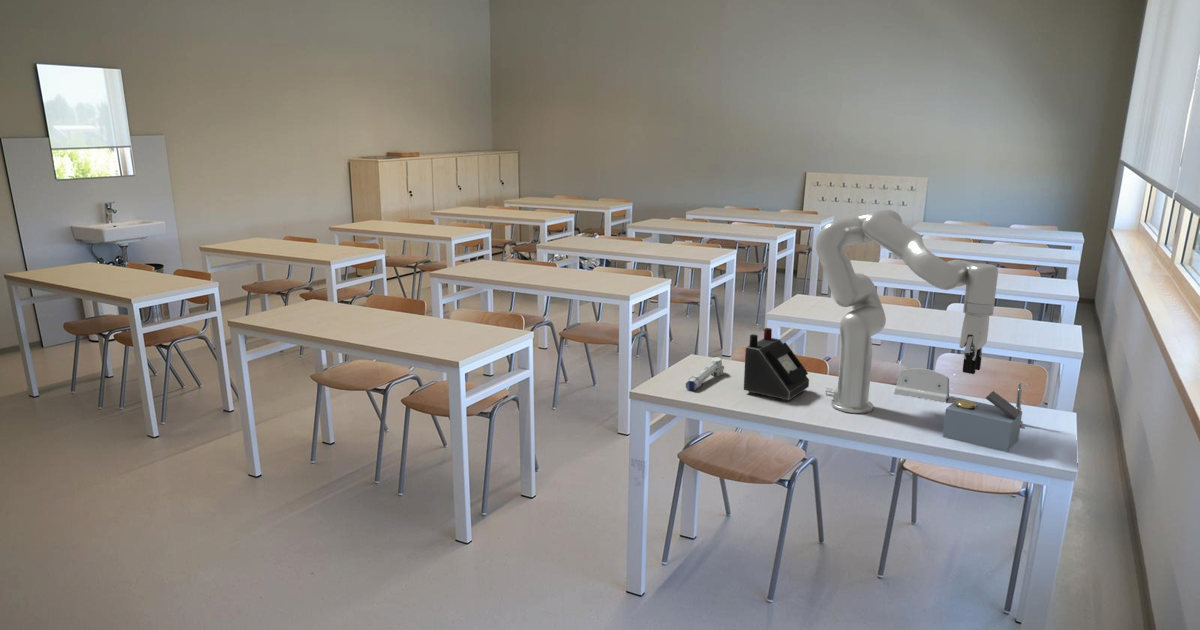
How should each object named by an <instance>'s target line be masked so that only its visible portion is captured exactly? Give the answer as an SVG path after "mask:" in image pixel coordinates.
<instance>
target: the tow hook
mask: <svg viewBox="0 0 1200 630" xmlns="http://www.w3.org/2000/svg"><path fill="white" fill-rule="evenodd" d="M1022 384H1023V383H1022V382H1018V387H1017V388H1018V389H1017V390H1016V391H1017V392H1016V402H1015V403H1016V404H1015V405H1016V406H1014V407H1015V408H1017V409H1018V410H1019V411H1022V396H1023V395H1022V393H1023V389H1022ZM1020 428H1022V424H1021V425H1020Z"/></svg>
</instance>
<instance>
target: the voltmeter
mask: <svg viewBox="0 0 1200 630" xmlns="http://www.w3.org/2000/svg"><path fill="white" fill-rule="evenodd" d="M763 330H764V333H763V338H762V339H760V340H758V338H759V337H758V334H753V333H752V334H750V335H749V345H747V346H745V348H744V349H745V351H744V353H745V354H744V370H743V371H744V372H743V373H744V374H743V391H747V392H748V394H750V395H755V394H756V393H757V394H761V395H766V396H769V397H775V398H779V399H781V401H782V402H784V403H785V402H786V403H787V402H789V401H790V400H791V399H792V398H795V396H797V395H799V394H800V393H803V392H804V391H805V390H807V389H808V388H809V386H810V379H809V378H808V376H807V375H809V372H808V371H807V370H806V368H805V366H804V365H803V364H802V362H800V360H799V359H798V357H797V356H796V354H795V353H794V352H793V351H792V349H791V348H790V347H789V345H788V344H787V342H782V340H781V339H780V338H774V337H772V330H773V329H772V328H769V327H766V328H764V329H763Z"/></svg>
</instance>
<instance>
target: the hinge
mask: <svg viewBox="0 0 1200 630" xmlns="http://www.w3.org/2000/svg"><path fill="white" fill-rule="evenodd" d="M918 390H920V391H918ZM921 391H924V392H921ZM894 395H900V396H904V395H905V396H904V397H909V396H911V398H915V397H920V398H919V399H921V398H926V399H925V400H927V399H930V400H929V401H932V400H934V401H933V402H938V401H939V403H944V402H946V403H947V399H948V400H949V398H950V379H949V377H948V376H947V375H945V374H943V373H940V372H938V371H936V370H932V369H928V368H922V367H918V368H917V367H915V368H914V367H912V368H911V367H910V368H906V369H901V370H900V372H899V376H898V378H897V382H896V385H895V388H894Z"/></svg>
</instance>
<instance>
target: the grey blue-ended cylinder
mask: <svg viewBox="0 0 1200 630" xmlns="http://www.w3.org/2000/svg"><path fill="white" fill-rule="evenodd" d="M722 361H723V360H722V358H720V357H718V356H716V357H713V358H711V360H710V363H709V364H708V365H706V366H705V367H704V368H702V369H701V370H700V371H699V372H697V373H696V374H695V375H692V376H691V377H689V379H688V380H687V381H686V382H685V388H686V390H687V391H690V392H694V391H696V390H697V389H699V388H700V387H701V386H702V384H703V383H704V382H705V381H706V380H707V379H708V378H709V377H710V376H713V377H719V376H723V375H724V370H725V365H724V364H723V362H722Z"/></svg>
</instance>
